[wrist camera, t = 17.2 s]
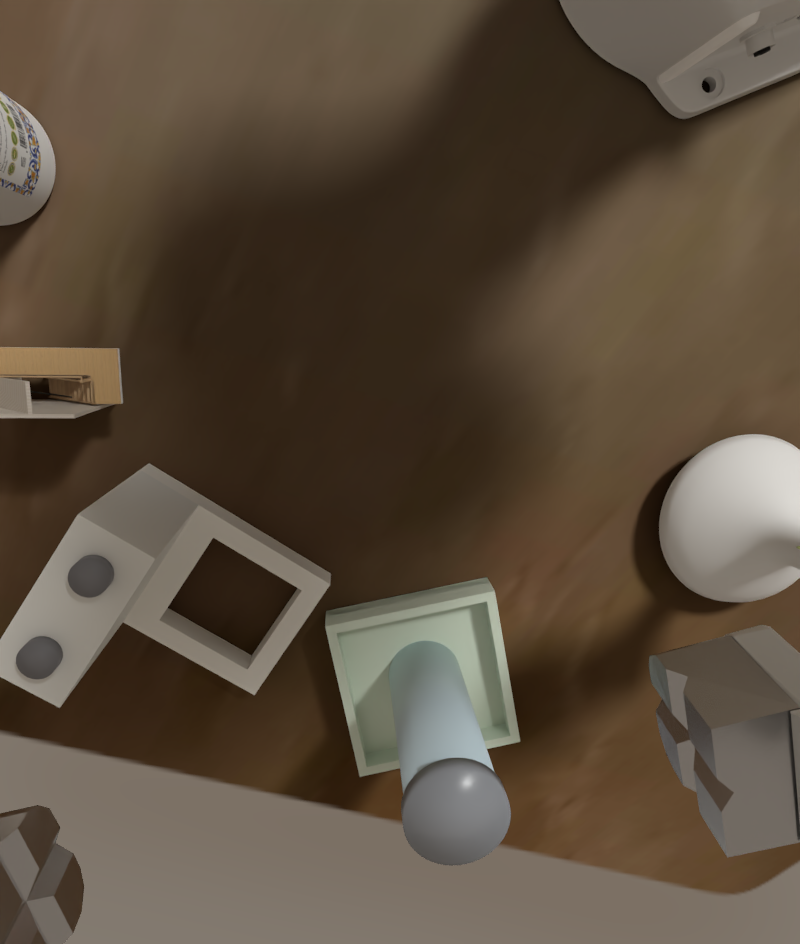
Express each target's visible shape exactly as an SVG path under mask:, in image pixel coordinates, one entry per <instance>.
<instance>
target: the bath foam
mask: <svg viewBox="0 0 800 944" xmlns="http://www.w3.org/2000/svg"><path fill="white" fill-rule="evenodd" d="M55 173H56V165H55V157H54V152H53V149H52V146H51V143H50V140H49V138H48V136H47V134H46V133H45V131H44V129H43V128H42V126H41V125H40V124H39V122H38V121H37V120H36V119H35V118H34V117H33V116H32V115H31V114H30V113H29V112H28V111H27V110H26V109H25V108H23V107H22V106H21V105H19V104H18V103H16V102H15V101H13V100H12V99H10V98H9V97H8V96H6V95H5V94H4V93H2V92H1V91H0V226H4V225H11V224H16V223H19V222H21V221H24V220H26V219H28V218H29V217H31V216H32V215H34V214H35V213H36V212H37V211H39V210H40V209H41V207H42V206H43V205H44V204H45V202H46V201H47V199H48V198H49V196H50V194H51V191H52V188H53V185H54V181H55Z"/></svg>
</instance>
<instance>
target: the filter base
mask: <svg viewBox="0 0 800 944" xmlns="http://www.w3.org/2000/svg"><path fill="white" fill-rule="evenodd" d="M213 538H215V539H216V540H218V541H220V542H221V543H223V544H225V545H226V546H228V547H230V548H231V549H233V550H235V551H236V552H238V553H240V554H241V555H243V556H245V557H246V558H248V559H250V560H251V561H253V562H255V563H257V564H258V565H260V566H262V567H263V568H265V569H267V570H268V571H270V572H272V573H273V574H275V575H277V576H278V577H280V578H282V579H283V580H285V581H287V582H288V583H290V584H292V585H293V586H295V587H297V590H296V591H295V593H294V594H293V595H292V597H291V598H290V600H289V601H288V603H287V604H286V606H285V607H284V609H283V610H282V612H281V613H280V615H279V616H278V618H277V619H276V620H275V622H274V623H273V625H272V626H271V628H270V629H269V631H268V632H267V634H266V635H265V637H264V638H263V640H262V641H261V643H260V644H259V645H258V647H257V648H256V650H255V651H254V653H253V654H252V655H250V654H248V653H246V652H245V651H243V650H241V649H239V648H238V647H236V646H234V645H232V644H231V643H229V642H227V641H225V640H224V639H222V638H220V637H218V636H217V635H215V634H213V633H211V632H209V631H208V630H206V629H204V628H202V627H201V626H199V625H197V624H195V623H194V622H192V621H190V620H188V619H187V618H185V617H183V616H181V615H180V614H178V613H176V612H174V611H172V610H171V609H169V608H168V606H169V605H170V603H171V602H172V600H173V599H174V597H175V596H176V594H177V592H178V591H179V589H180V588H181V586H182V585H183V583H184V582H185V580H186V579H187V577H188V576H189V574H190V573H191V571H192V570H193V568H194V566H195V565H196V563H197V562H198V560H199V559H200V557H201V556H202V554H203V553H204V551H205V550H206V548H207V547H208V545H209V543H210V542H211V540H212V539H213ZM330 583H331V573H329V572H328V571H326V570H324V569H323V568H321V567H319V566H318V565H316V564H315V563H313V562H311V561H310V560H308V559H306V558H305V557H303V556H301V555H300V554H298V553H296V552H295V551H293V550H291V549H290V548H288V547H286V546H285V545H283V544H282V543H280V542H278V541H277V540H275V539H273V538H272V537H270V536H268V535H267V534H265V533H263V532H262V531H260V530H258V529H257V528H255V527H253V526H252V525H250V524H249V523H247V522H245V521H244V520H242V519H240V518H239V517H237V516H235V515H234V514H232V513H230V512H229V511H227V510H225V509H224V508H222V507H221V506H219V505H217V504H216V503H214V502H212V501H211V500H209V499H207V498H206V497H204V496H202V495H201V494H199V493H197V492H196V491H194V490H192V489H191V488H189V487H188V486H186V485H184V484H183V483H181V482H179V481H178V480H176V479H174V478H173V477H171V476H169V475H168V474H166V473H164V472H163V471H161V470H159V469H158V468H156V467H155V466H153V465H151V464H150V463H149V464H147V465H146V466H144V467H143V468H142V469H140V470H139V471H137V472H136V473H135V474H133V475H132V476H130V477H129V478H128V479H126V480H125V481H123V482H122V483H121V484H119V485H118V486H116V487H115V488H114V489H112V490H111V491H109V492H108V493H107V494H105V495H104V496H102V497H101V498H100V499H98V500H97V501H95V502H94V503H93V504H91V505H90V506H88V507H87V508H86V509H84V510H83V511H81V512H80V513H79V514H78V515H77V516H76V518H75V520H74V521H73V523H72V524H71V526H70V528H69V529H68V531H67V533H66V534H65V536H64V537H63V539H62V541H61V542H60V544H59V545H58V547H57V549H56V550H55V552H54V554H53V555H52V557H51V558H50V560H49V562H48V563H47V565H46V566H45V568H44V570H43V571H42V573H41V575H40V576H39V578H38V579H37V581H36V583H35V584H34V586H33V587H32V589H31V591H30V592H29V594H28V596H27V597H26V599H25V600H24V602H23V604H22V605H21V607H20V608H19V610H18V612H17V613H16V615H15V617H14V618H13V620H12V621H11V623H10V625H9V626H8V628H7V629H6V631H5V633H4V634H3V636H2V638H1V639H0V677H1V678H3V679H5V680H7V681H9V682H11V683H13V684H15V685H17V686H19V687H20V688H22V689H24V690H26V691H28V692H30V693H32V694H34V695H36V696H38V697H40V698H41V699H43V700H45V701H47V702H49V703H51V704H53V705H55V706H57V707H59V708H60V707H61V706H62V704H63V703H64V701H65V700H66V699H67V697H68V696H69V695H70V693H71V692H72V691H73V689H74V688H75V687H76V685H77V684H78V683H79V681H80V680H81V678H82V677H83V676H84V674H85V673H86V672H87V670H88V669H89V668H90V666H91V665H92V664H93V662H94V661H95V660H96V658H97V657H98V655H99V654H100V653H101V651H102V650H103V649H104V647H105V646H106V645H107V643H108V642H109V641H110V639H111V638H112V637H113V635H114V634H115V633H116V631H117V630H118V628H119V627H120V626H121V624H122V623H123V622H124V623H125V624H127V625H129V626H131V627H133V628H134V629H136V630H138V631H140V632H142V633H143V634H145V635H147V636H149V637H150V638H152V639H154V640H156V641H158V642H159V643H161V644H163V645H165V646H167V647H168V648H170V649H172V650H174V651H176V652H177V653H179V654H181V655H183V656H185V657H186V658H188V659H190V660H192V661H194V662H195V663H197V664H199V665H201V666H203V667H204V668H206V669H208V670H210V671H212V672H213V673H215V674H217V675H219V676H221V677H222V678H224V679H226V680H228V681H230V682H231V683H233V684H235V685H237V686H239V687H240V688H242V689H244V690H246V691H248V692H249V693H251V694H253V695H255V694H256V692H257V691H258V689H259V688H260V686H261V685H262V683H263V682H264V681H265V679H266V678H267V676H268V675H269V673H270V672H271V670H272V669H273V667H274V666H275V664H276V663H277V662H278V660H279V659H280V657H281V656H282V654H283V653H284V651H285V650H286V648H287V647H288V646H289V644H290V643H291V641H292V640H293V638H294V637H295V635H296V634H297V632H298V631H299V630H300V628H301V627H302V625H303V624H304V622H305V621H306V619H307V618H308V616H309V615H310V614H311V612H312V611H313V609H314V608H315V606H316V605H317V603H318V602H319V600H320V599H321V598H322V596H323V595H324V593H325V592H326V590H327V589H328V587H329V586H330Z"/></svg>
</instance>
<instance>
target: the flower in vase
mask: <svg viewBox="0 0 800 944" xmlns="http://www.w3.org/2000/svg"><path fill="white" fill-rule="evenodd" d="M659 537H660V545H661V548H662V552H663V555H664V558H665V560H666V562H667V564H668V566H669V568H670V569H671V571H672V572H673V574H674V575H675V576H676V577H677V578H678V580H679V581H680V582H681V583H683V584H684V585H685V586H686V587H687V588H689V589H690V590H692V591H693V592H695V593H697V594H699V595H701V596H704V597H706V598H710V599H713V600H717V601H724V602H750V601H756V600H760V599H764V598H767V597H769V596H772V595H774V594H776V593H778V592H780V591H782V590H784V589H785V588H787V587H788V586H790V585H791V584H793V583H794V582H795V581H796V580H798V579H799V578H800V450H799V449H798V448H796V447H795V446H794V445H792V444H790V443H788V442H786V441H784V440H782V439H779V438H776V437H773V436H767V435H759V434H748V435H739V436H734V437H730V438H727V439H724V440H721V441H719V442H716V443H714V444H712V445H710V446H709V447H707V448H705V449H704V450H702V451H701V452H699V453H698V454H697V455H695V456H694V457H693V458H692V459H691V460H690V461H688V463H687V464H686V465H685V466H684V467H683V468H682V469H681V470H680V471H679V473H678V474H677V476H676V477H675V479H674V480H673V482H672V483H671V485H670V487H669V489H668V491H667V493H666V496H665V498H664V501H663V505H662V508H661V512H660V520H659Z"/></svg>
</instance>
